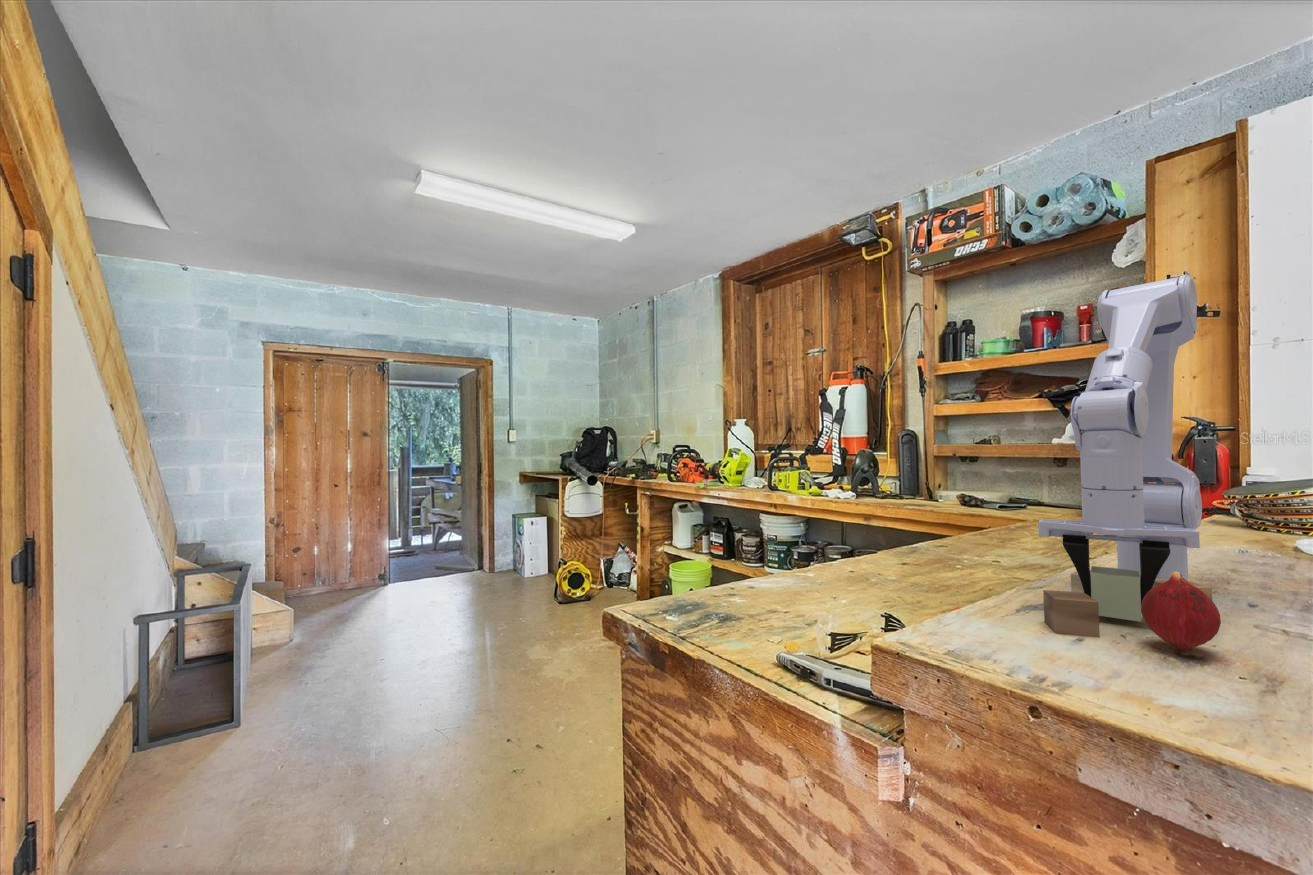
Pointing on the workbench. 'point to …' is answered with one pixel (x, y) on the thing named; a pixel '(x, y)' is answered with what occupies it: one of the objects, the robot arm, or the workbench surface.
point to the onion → (1180, 613)
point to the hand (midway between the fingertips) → (1115, 601)
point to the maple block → (1076, 582)
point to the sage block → (1117, 592)
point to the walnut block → (1071, 613)
